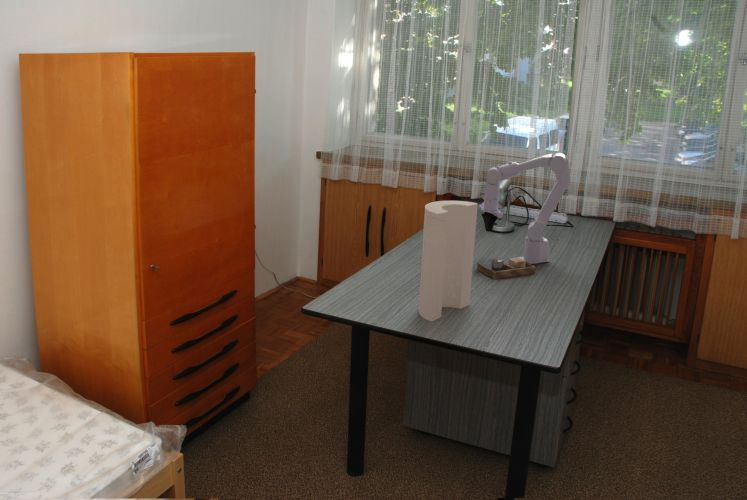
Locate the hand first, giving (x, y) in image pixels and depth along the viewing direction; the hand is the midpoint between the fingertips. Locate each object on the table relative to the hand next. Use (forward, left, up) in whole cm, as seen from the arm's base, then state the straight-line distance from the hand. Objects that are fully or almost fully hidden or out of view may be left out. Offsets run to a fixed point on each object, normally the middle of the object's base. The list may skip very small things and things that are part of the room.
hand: (488, 230), depth 297 cm
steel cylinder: (+9, +20, -10) cm, 24 cm away
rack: (+4, +19, -10) cm, 22 cm away
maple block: (0, +20, -10) cm, 23 cm away
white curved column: (+49, +43, -11) cm, 66 cm away
